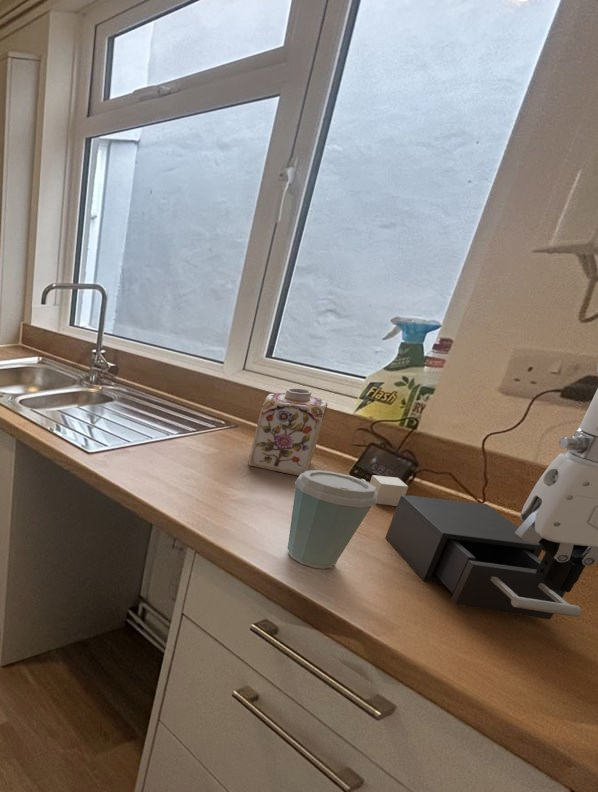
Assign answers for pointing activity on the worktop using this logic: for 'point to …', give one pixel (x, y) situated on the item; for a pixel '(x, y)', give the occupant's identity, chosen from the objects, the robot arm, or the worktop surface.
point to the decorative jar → (287, 431)
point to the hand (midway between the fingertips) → (551, 584)
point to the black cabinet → (446, 530)
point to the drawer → (498, 580)
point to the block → (388, 489)
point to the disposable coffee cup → (326, 515)
